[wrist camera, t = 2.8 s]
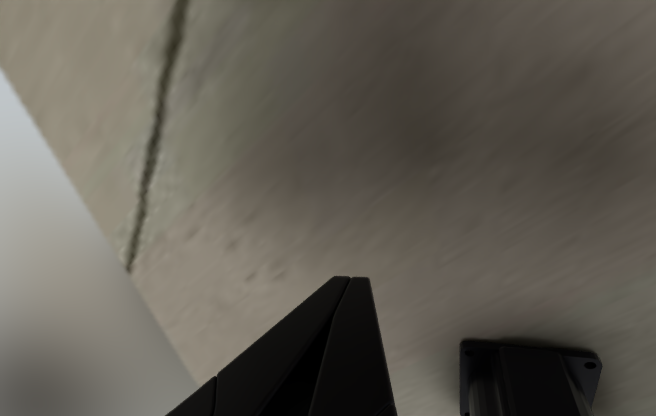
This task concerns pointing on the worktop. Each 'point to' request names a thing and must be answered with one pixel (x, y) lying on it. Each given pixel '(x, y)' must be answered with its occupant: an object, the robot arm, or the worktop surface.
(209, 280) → the worktop surface
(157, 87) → the worktop surface
